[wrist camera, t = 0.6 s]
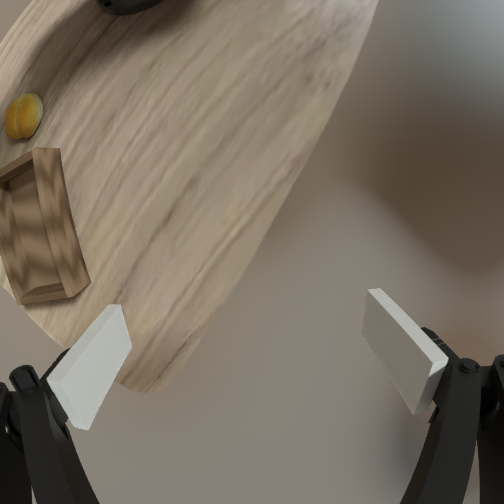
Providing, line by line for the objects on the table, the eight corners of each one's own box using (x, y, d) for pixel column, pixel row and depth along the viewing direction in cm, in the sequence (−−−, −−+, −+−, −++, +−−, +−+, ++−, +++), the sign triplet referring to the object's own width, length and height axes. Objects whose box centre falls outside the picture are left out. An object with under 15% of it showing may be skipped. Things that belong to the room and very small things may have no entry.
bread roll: (42, 136, 34) (27, 134, 31) (10, 141, 34) (-4, 140, 30) (49, 90, 32) (36, 85, 28) (17, 98, 32) (3, 95, 28)
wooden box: (7, 176, 35) (-15, 179, 30) (59, 148, 35) (37, 147, 29) (36, 292, 41) (18, 305, 36) (91, 282, 41) (73, 296, 35)
